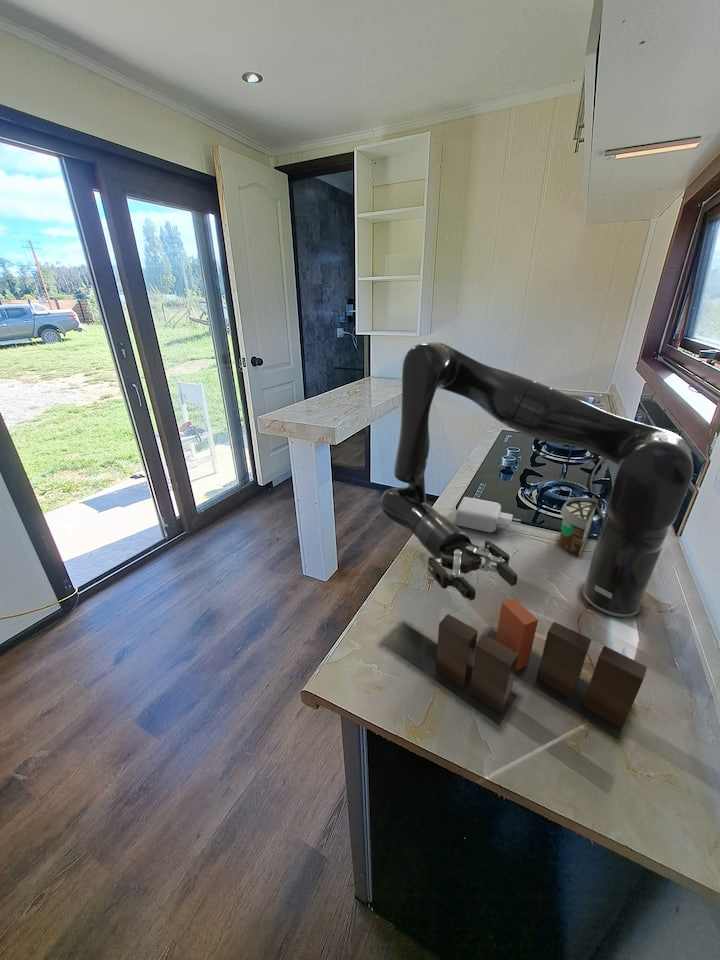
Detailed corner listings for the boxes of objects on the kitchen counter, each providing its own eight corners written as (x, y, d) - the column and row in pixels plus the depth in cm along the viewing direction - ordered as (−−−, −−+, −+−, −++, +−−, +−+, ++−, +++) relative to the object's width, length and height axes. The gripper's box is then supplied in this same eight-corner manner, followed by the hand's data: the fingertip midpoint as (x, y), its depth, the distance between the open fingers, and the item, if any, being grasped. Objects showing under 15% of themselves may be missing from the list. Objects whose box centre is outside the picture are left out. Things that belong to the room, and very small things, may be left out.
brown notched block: (491, 630, 68) (498, 586, 64) (628, 707, 55) (650, 657, 50) (474, 652, 64) (481, 605, 60) (618, 740, 51) (640, 689, 47)
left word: (404, 624, 70) (405, 580, 66) (517, 696, 57) (527, 647, 52) (383, 644, 66) (382, 599, 62) (498, 727, 53) (508, 677, 49)
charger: (516, 540, 92) (454, 526, 99) (521, 521, 100) (463, 510, 106) (519, 523, 90) (456, 510, 96) (523, 505, 98) (464, 494, 104)
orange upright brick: (506, 642, 65) (514, 597, 61) (527, 665, 61) (538, 619, 57) (494, 647, 65) (501, 602, 60) (515, 671, 60) (525, 624, 56)
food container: (561, 526, 97) (570, 491, 93) (589, 534, 93) (598, 498, 89) (547, 549, 89) (555, 512, 84) (576, 559, 85) (586, 521, 81)
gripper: (410, 530, 73) (460, 583, 60) (472, 514, 78) (532, 559, 64) (409, 561, 76) (457, 618, 63) (469, 544, 81) (525, 593, 67)
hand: (495, 588), depth 64 cm, fingers open, 8 cm apart
